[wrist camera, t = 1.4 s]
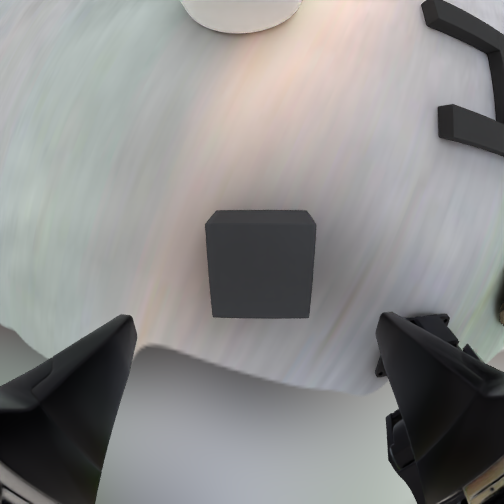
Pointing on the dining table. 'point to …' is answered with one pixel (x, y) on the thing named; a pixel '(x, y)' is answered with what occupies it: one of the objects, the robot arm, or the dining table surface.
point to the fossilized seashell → (502, 314)
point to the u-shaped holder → (500, 58)
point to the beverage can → (240, 13)
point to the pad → (260, 263)
